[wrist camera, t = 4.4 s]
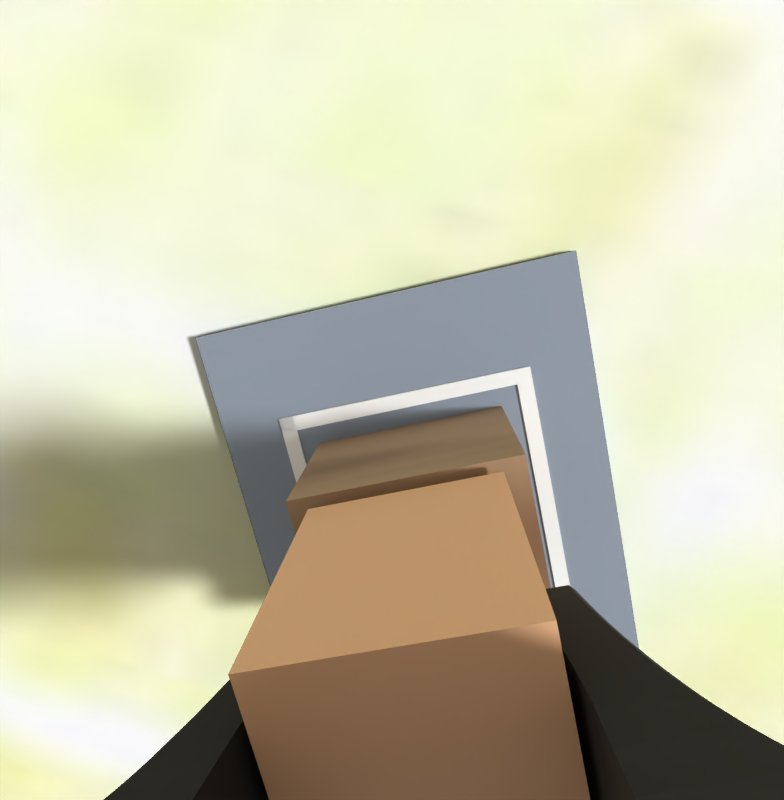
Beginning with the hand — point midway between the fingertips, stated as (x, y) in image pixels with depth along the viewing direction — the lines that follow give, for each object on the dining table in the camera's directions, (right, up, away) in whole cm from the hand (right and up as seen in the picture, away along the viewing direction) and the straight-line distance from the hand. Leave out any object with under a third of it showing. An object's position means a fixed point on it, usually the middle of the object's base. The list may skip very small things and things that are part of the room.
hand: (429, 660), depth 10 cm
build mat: (0, +2, +7) cm, 7 cm away
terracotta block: (0, +1, +2) cm, 2 cm away
